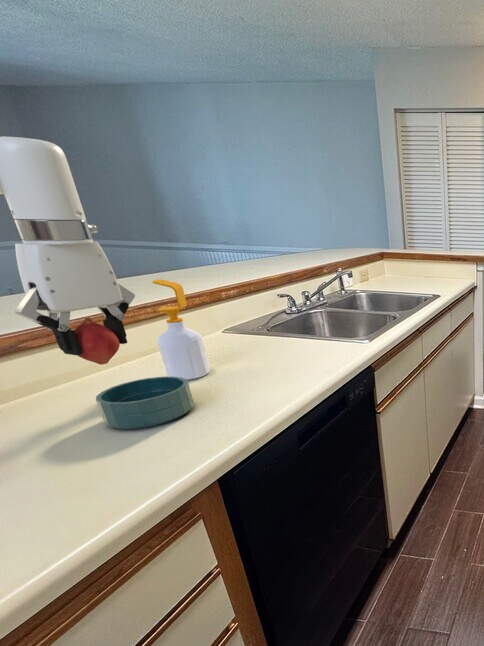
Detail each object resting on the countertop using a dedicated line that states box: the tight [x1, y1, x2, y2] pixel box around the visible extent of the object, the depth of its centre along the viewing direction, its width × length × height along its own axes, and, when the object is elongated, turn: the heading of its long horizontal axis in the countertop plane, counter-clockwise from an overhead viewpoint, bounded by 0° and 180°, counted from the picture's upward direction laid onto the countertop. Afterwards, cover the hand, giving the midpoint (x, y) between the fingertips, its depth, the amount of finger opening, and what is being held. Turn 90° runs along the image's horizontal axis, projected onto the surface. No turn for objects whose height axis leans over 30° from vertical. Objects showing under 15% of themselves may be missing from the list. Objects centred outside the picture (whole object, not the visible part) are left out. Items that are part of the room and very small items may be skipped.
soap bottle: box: [152, 278, 211, 381], centre depth 106 cm, size 9×9×25 cm
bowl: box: [95, 376, 195, 430], centre depth 88 cm, size 15×15×6 cm
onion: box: [73, 317, 121, 365], centre depth 69 cm, size 6×6×8 cm
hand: (96, 347), depth 70 cm, fingers closed on onion, 5 cm apart
